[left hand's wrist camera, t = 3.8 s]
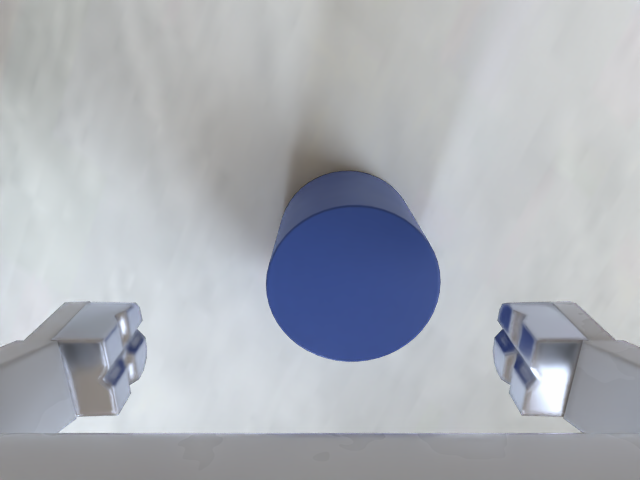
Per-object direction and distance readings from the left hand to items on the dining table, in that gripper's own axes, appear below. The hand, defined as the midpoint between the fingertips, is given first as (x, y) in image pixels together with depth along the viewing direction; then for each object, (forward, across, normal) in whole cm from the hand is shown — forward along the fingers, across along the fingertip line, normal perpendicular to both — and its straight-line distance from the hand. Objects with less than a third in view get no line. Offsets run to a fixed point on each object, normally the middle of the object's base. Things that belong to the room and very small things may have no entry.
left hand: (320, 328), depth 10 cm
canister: (+7, -1, 0) cm, 7 cm away
